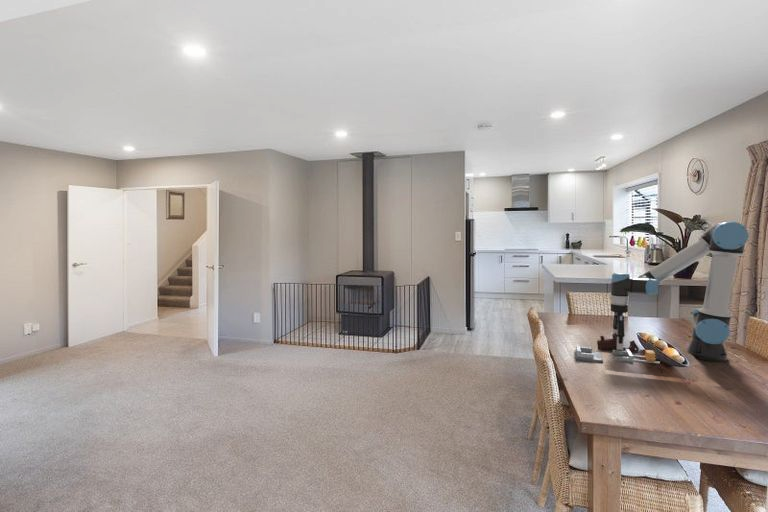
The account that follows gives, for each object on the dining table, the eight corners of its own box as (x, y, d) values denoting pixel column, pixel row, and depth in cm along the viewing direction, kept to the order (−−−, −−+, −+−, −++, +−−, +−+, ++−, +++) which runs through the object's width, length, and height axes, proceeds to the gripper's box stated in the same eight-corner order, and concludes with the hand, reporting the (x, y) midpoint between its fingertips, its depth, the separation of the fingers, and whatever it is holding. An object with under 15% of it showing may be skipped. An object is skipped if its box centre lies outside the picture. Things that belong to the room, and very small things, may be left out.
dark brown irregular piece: (640, 350, 197) (634, 330, 201) (602, 355, 202) (597, 335, 205) (637, 351, 203) (631, 331, 206) (600, 356, 207) (595, 336, 211)
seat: (654, 359, 192) (654, 350, 192) (661, 368, 181) (661, 359, 180) (574, 352, 205) (574, 343, 205) (576, 360, 193) (576, 351, 193)
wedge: (652, 358, 189) (652, 350, 189) (655, 362, 185) (655, 353, 184) (644, 358, 190) (645, 349, 190) (647, 361, 186) (647, 353, 186)
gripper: (607, 299, 216) (606, 338, 217) (614, 308, 193) (612, 352, 194) (623, 299, 213) (622, 339, 215) (632, 309, 190) (630, 353, 192)
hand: (617, 345), depth 205 cm, fingers open, 13 cm apart
